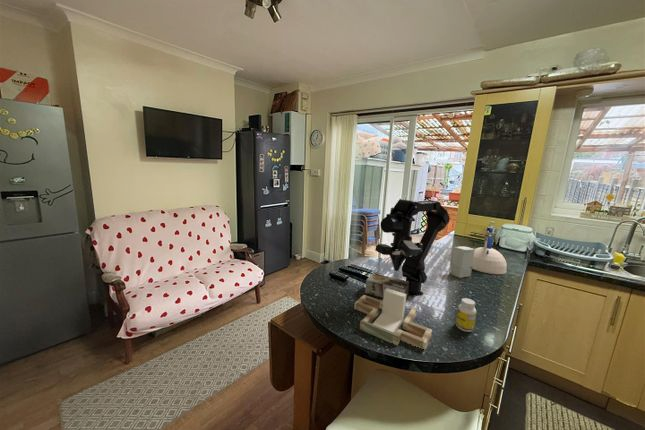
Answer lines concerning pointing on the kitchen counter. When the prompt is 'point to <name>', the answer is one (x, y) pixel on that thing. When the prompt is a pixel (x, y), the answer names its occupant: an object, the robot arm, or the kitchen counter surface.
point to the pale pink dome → (488, 259)
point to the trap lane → (413, 336)
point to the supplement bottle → (466, 315)
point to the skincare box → (462, 261)
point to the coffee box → (385, 285)
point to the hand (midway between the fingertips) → (396, 270)
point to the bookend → (392, 310)
